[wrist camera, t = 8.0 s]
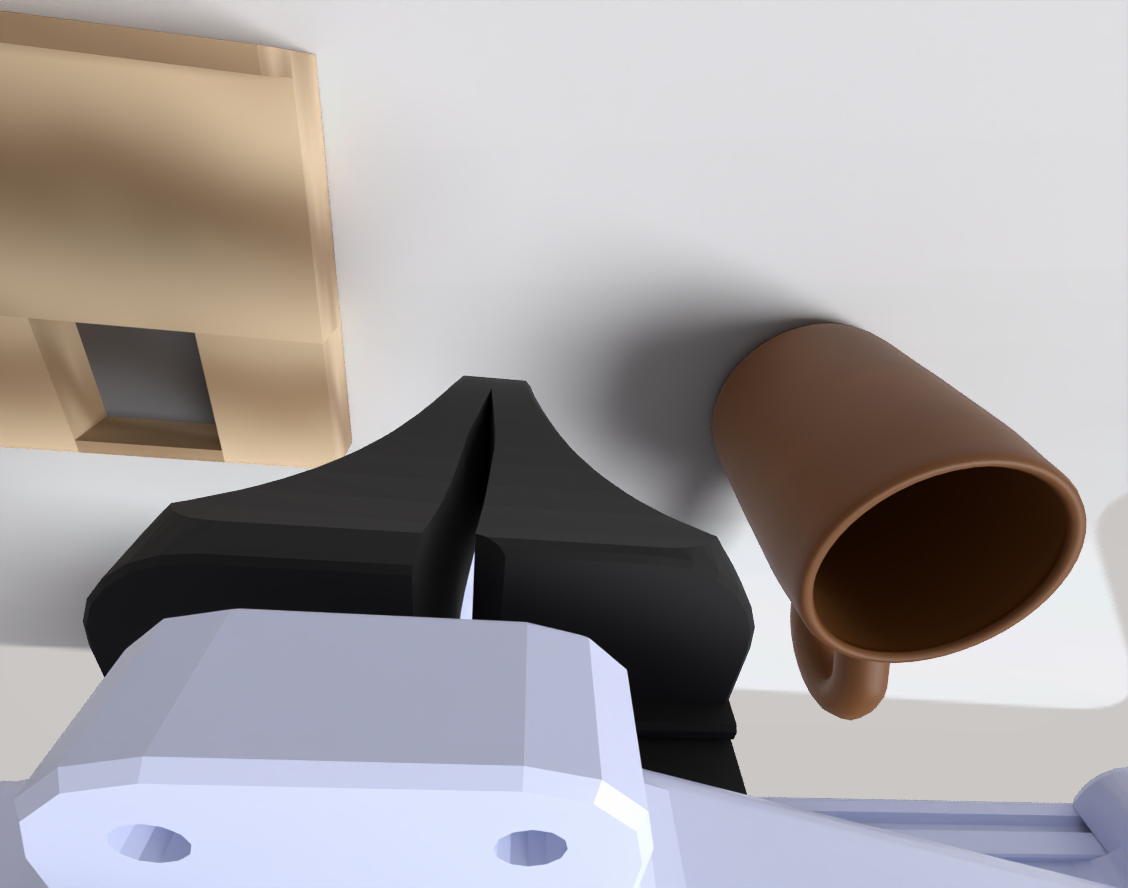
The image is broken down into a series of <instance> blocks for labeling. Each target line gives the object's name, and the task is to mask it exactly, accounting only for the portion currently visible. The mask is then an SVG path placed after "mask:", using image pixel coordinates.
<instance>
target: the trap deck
mask: <svg viewBox="0 0 1128 888" xmlns="http://www.w3.org/2000/svg"><path fill="white" fill-rule="evenodd" d="M351 443H352V437H351V426H350V415H349V405H348V394H347V383H346V373H345V362H344V352H343V341H342V330H341V320H340V309H339V298H338V288H337V277H336V267H335V256H334V245H333V235H332V224H331V214H330V203H329V192H328V182H327V171H326V160H325V150H324V139H323V129H322V118H321V107H320V97H319V86H318V76H317V65H316V55H314V54H309V53H303V52H297V51H292V50H286V49H280V48H275V47H269V46H263V45H258V44H251V43H243V42H235V41H228V40H220V39H213V38H205V37H197V36H190V35H182V34H174V33H167V32H159V31H152V30H144V29H136V28H129V27H121V26H114V25H106V24H98V23H91V22H83V21H75V20H68V19H60V18H53V17H45V16H37V15H30V14H22V13H15V12H7V11H0V447H10V448H25V449H39V450H54V451H68V452H83V453H97V454H112V455H126V456H141V457H155V458H170V459H185V460H199V461H214V462H228V463H243V464H257V465H272V466H286V467H301V468H317V467H319V466H321V465H324V464H326V463H329V462H331V461H334V460H336V459H339V458H341V457H344V456H345V454H346V453H347V451H348V449H349V447H350V445H351Z"/></svg>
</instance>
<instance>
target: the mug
mask: <svg viewBox="0 0 1128 888" xmlns="http://www.w3.org/2000/svg"><path fill="white" fill-rule="evenodd" d="M712 433H713V441H714V445H715V449H716V452H717V455H718V457H719V460H720V463H721V465H722V467H723V469H724V471H725V473H726V475H727V478H728V480H729V482H730V484H731V486H732V488H733V490H734V492H735V494H736V497H737V499H738V501H739V503H740V505H741V508H742V510H743V512H744V514H745V516H746V518H747V520H748V522H749V524H750V526H751V528H752V530H753V532H754V534H755V536H756V538H757V540H758V542H759V545H760V547H761V549H762V551H763V553H764V555H765V557H766V559H767V561H768V563H769V565H770V567H771V569H772V571H773V573H774V575H775V576H776V578H777V580H778V582H779V583H780V585H781V587H782V588H783V590H784V591H785V593H786V595H787V596H788V598H789V599H790V601H791V612H790V623H791V635H792V641H793V647H794V652H795V656H796V660H797V663H798V667H799V669H800V672H801V675H802V678H803V680H804V682H805V684H806V686H807V688H808V690H809V692H810V693H811V695H812V696H813V698H814V699H815V700H816V701H817V703H818V704H819V705H820V706H821V707H822V709H824V710H826V711H828V712H829V713H831V714H833V715H835V716H837V717H839V718H842V719H847V720H853V719H857V718H860V717H862V716H864V715H866V714H868V713H870V712H871V711H873V710H874V709H875V708H876V707H877V706H878V704H879V703H880V701H881V700H882V699H883V698H884V695H885V692H886V689H887V684H888V675H889V666H890V663H901V662H913V661H920V660H927V659H932V658H936V657H941V656H945V655H948V654H952V653H955V652H958V651H961V650H964V649H967V648H969V647H972V646H975V645H977V644H979V643H982V642H984V641H986V640H988V639H990V638H992V637H994V636H996V635H998V634H1000V633H1002V632H1003V631H1005V630H1007V629H1009V628H1010V627H1012V626H1013V625H1015V624H1016V623H1018V622H1020V621H1021V620H1023V619H1024V618H1025V617H1027V616H1028V615H1029V614H1030V613H1032V612H1033V611H1034V610H1036V609H1037V608H1038V607H1039V606H1040V605H1041V604H1042V603H1044V602H1045V601H1046V600H1047V599H1048V598H1049V597H1050V596H1051V595H1052V594H1053V593H1054V592H1055V591H1056V589H1057V588H1058V587H1059V586H1060V585H1061V584H1062V582H1063V581H1064V580H1065V578H1066V577H1067V576H1068V574H1069V573H1070V571H1071V570H1072V568H1073V566H1074V564H1075V563H1076V561H1077V559H1078V557H1079V554H1080V552H1081V549H1082V547H1083V543H1084V538H1085V534H1086V515H1085V509H1084V505H1083V503H1082V500H1081V498H1080V496H1079V493H1078V491H1077V489H1076V488H1075V486H1074V485H1073V484H1072V482H1071V481H1070V480H1069V479H1068V478H1067V477H1066V476H1065V475H1064V474H1063V473H1062V472H1061V471H1059V470H1058V469H1057V468H1056V467H1055V466H1054V465H1052V464H1051V463H1050V462H1049V461H1048V460H1046V459H1045V458H1044V457H1043V456H1042V455H1041V454H1040V453H1038V452H1037V451H1036V450H1035V449H1034V448H1033V447H1032V446H1031V445H1030V444H1029V443H1027V442H1026V441H1025V440H1024V439H1023V438H1022V437H1021V436H1019V435H1018V434H1017V433H1016V432H1015V431H1013V430H1012V429H1011V428H1009V427H1008V426H1007V425H1006V424H1004V423H1003V422H1001V421H1000V420H999V419H997V418H996V417H994V416H993V415H992V414H990V413H989V412H987V411H986V410H984V409H983V408H982V407H980V406H979V405H977V404H976V403H975V402H973V401H972V400H970V399H969V398H968V397H966V396H965V395H963V394H962V393H960V392H959V391H958V390H956V389H955V388H953V387H952V386H951V385H949V384H948V383H946V382H945V381H944V380H942V379H941V378H939V377H938V376H936V375H935V374H933V373H932V372H930V371H929V370H927V369H926V368H924V367H923V366H921V365H920V364H918V363H917V362H915V361H914V360H912V359H911V358H909V357H908V356H907V355H905V354H904V353H902V352H901V351H900V350H898V349H897V348H895V347H894V346H892V345H891V344H889V343H888V342H886V341H885V340H883V339H881V338H879V337H878V336H876V335H874V334H872V333H870V332H868V331H865V330H862V329H860V328H856V327H852V326H848V325H843V324H832V323H825V324H813V325H808V326H802V327H799V328H795V329H792V330H789V331H787V332H784V333H782V334H779V335H777V336H775V337H773V338H772V339H770V340H768V341H766V342H764V343H763V344H761V345H760V346H759V347H757V348H756V349H754V350H753V351H752V352H751V353H749V354H748V355H747V356H746V357H745V358H744V359H743V360H742V361H741V362H740V363H739V364H738V365H737V366H736V367H735V369H734V370H733V371H732V373H731V374H730V375H729V377H728V378H727V379H726V381H725V383H724V385H723V387H722V388H721V390H720V393H719V395H718V398H717V400H716V403H715V407H714V411H713V419H712Z"/></svg>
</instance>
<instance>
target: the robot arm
mask: <svg viewBox="0 0 1128 888" xmlns="http://www.w3.org/2000/svg"><path fill="white" fill-rule="evenodd" d="M83 623H84V627H85V631H86V635H87V639H88V642H89V645H90V648H91V650H92V652H93V654H94V656H95V658H96V660H97V663H98V664H99V667H100V669H101V671H102V673H103V675H104V677H105V678H104V679H103V680H102V682H101V683H100V684H99V686H98V687H97V688H96V690H95V691H94V693H93V694H92V695H91V696H90V698H89V699H88V700H87V702H86V703H85V704H84V706H83V707H82V709H81V710H80V711H79V713H78V714H77V715H76V717H75V718H74V719H73V721H72V722H71V723H70V725H69V726H68V727H67V729H66V730H65V732H64V733H63V734H62V735H61V737H60V738H59V739H58V741H57V742H56V743H55V745H54V746H53V747H52V749H51V750H50V751H49V753H48V754H47V755H46V757H45V758H44V759H43V761H42V762H41V763H40V765H39V766H38V768H37V769H36V770H35V772H34V773H33V774H32V776H31V777H30V778H29V779H26V780H21V781H0V888H1128V767H1126V768H1117V769H1113V770H1110V771H1107V772H1105V773H1102V774H1100V775H1098V776H1097V777H1095V778H1094V779H1092V780H1090V781H1089V782H1088V783H1087V784H1086V785H1085V786H1084V787H1083V788H1082V789H1081V790H1080V791H1079V793H1078V794H1077V795H1076V796H1075V798H1074V801H1073V804H1072V803H1071V804H1069V803H1021V802H976V801H928V800H881V799H879V800H877V799H832V798H786V797H753V796H749V795H747V793H746V789H745V786H744V783H743V779H742V776H741V773H740V769H739V766H738V763H737V759H736V756H735V753H734V749H733V746H732V742H731V739H734V737H735V735H736V733H737V730H736V721H735V718H734V715H733V712H732V709H731V706H730V702H729V697H730V695H731V693H732V690H733V688H734V685H735V683H736V681H737V678H738V676H739V673H740V671H741V669H742V666H743V664H744V661H745V659H746V656H747V654H748V652H749V649H750V646H751V642H752V637H753V633H754V628H755V626H754V620H753V614H752V608H751V605H750V603H749V600H748V598H747V595H746V593H745V590H744V588H743V586H742V583H741V581H740V579H739V577H738V575H737V573H736V571H735V569H734V566H733V564H732V563H731V561H730V559H729V557H728V556H727V554H726V552H725V551H724V549H723V547H722V545H721V543H720V541H719V539H718V538H717V537H716V536H714V535H711V534H709V533H706V532H704V531H702V530H699V529H697V528H694V527H692V526H690V525H687V524H685V523H682V522H680V521H678V520H675V519H673V518H671V517H668V516H666V515H664V514H662V513H661V512H659V511H657V510H655V509H653V508H651V507H649V506H647V505H646V504H644V503H642V502H640V501H638V500H637V499H635V498H633V497H632V496H630V495H629V494H627V493H625V492H624V491H622V490H621V489H619V488H618V487H617V486H615V485H614V484H612V483H611V482H609V481H608V480H607V479H605V478H604V477H603V476H601V475H600V474H599V473H597V472H596V471H595V470H594V469H593V468H591V467H590V466H589V465H588V464H587V463H586V462H585V461H584V460H583V459H582V458H580V457H579V456H578V455H577V454H576V453H575V452H574V451H573V450H572V449H571V448H570V447H569V445H568V444H567V443H566V442H565V441H564V439H563V438H562V437H561V436H560V434H559V433H558V432H557V431H556V429H555V428H554V426H553V425H552V424H551V422H550V421H549V419H548V418H547V416H546V415H545V413H544V412H543V410H542V409H541V407H540V405H539V403H538V402H537V400H536V398H535V396H534V394H533V392H532V390H531V387H530V386H529V384H528V383H527V382H526V381H521V380H509V379H498V378H486V377H474V376H463V377H462V378H460V379H459V380H458V381H457V382H455V383H454V384H453V385H452V386H451V387H450V388H449V389H448V390H446V391H445V392H444V393H443V394H442V395H441V396H440V397H439V398H437V399H436V400H435V401H434V402H433V403H431V404H430V405H429V406H428V407H426V408H425V409H424V410H423V411H421V412H420V413H419V414H417V415H416V416H415V417H413V418H412V419H410V420H409V421H407V422H406V423H405V424H403V425H402V426H400V427H399V428H397V429H396V430H394V431H393V432H391V433H389V434H388V435H386V436H384V437H383V438H381V439H379V440H377V441H375V442H373V443H371V444H369V445H368V446H366V447H364V448H362V449H360V450H358V451H356V452H353V453H351V454H349V455H346V456H344V457H341V458H339V459H336V460H334V461H331V462H329V463H326V464H324V465H321V466H319V467H317V468H314V469H311V470H308V471H306V472H302V473H299V474H296V475H293V476H290V477H287V478H284V479H280V480H276V481H273V482H269V483H266V484H262V485H258V486H254V487H250V488H246V489H242V490H237V491H232V492H227V493H222V494H217V495H212V496H207V497H202V498H197V499H192V500H187V501H181V502H175V503H171V504H170V505H169V506H168V507H167V508H166V509H165V510H164V511H163V512H162V513H161V514H160V515H159V516H158V517H157V518H156V519H155V520H154V521H153V522H152V524H151V525H150V526H149V527H148V528H147V529H146V530H145V531H144V532H143V533H142V534H141V536H140V537H139V538H138V539H137V540H136V541H135V542H134V543H133V544H132V546H131V547H130V548H129V549H128V550H127V551H126V552H125V553H124V555H123V556H122V557H121V558H120V559H119V560H118V561H117V562H116V563H115V565H114V566H113V567H112V568H111V569H110V570H109V571H108V572H107V574H106V575H105V576H104V577H103V578H102V579H101V581H100V582H99V583H98V585H97V586H96V587H95V589H94V590H93V591H92V593H91V594H90V595H89V597H88V598H87V601H86V607H85V612H84V618H83Z"/></svg>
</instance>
